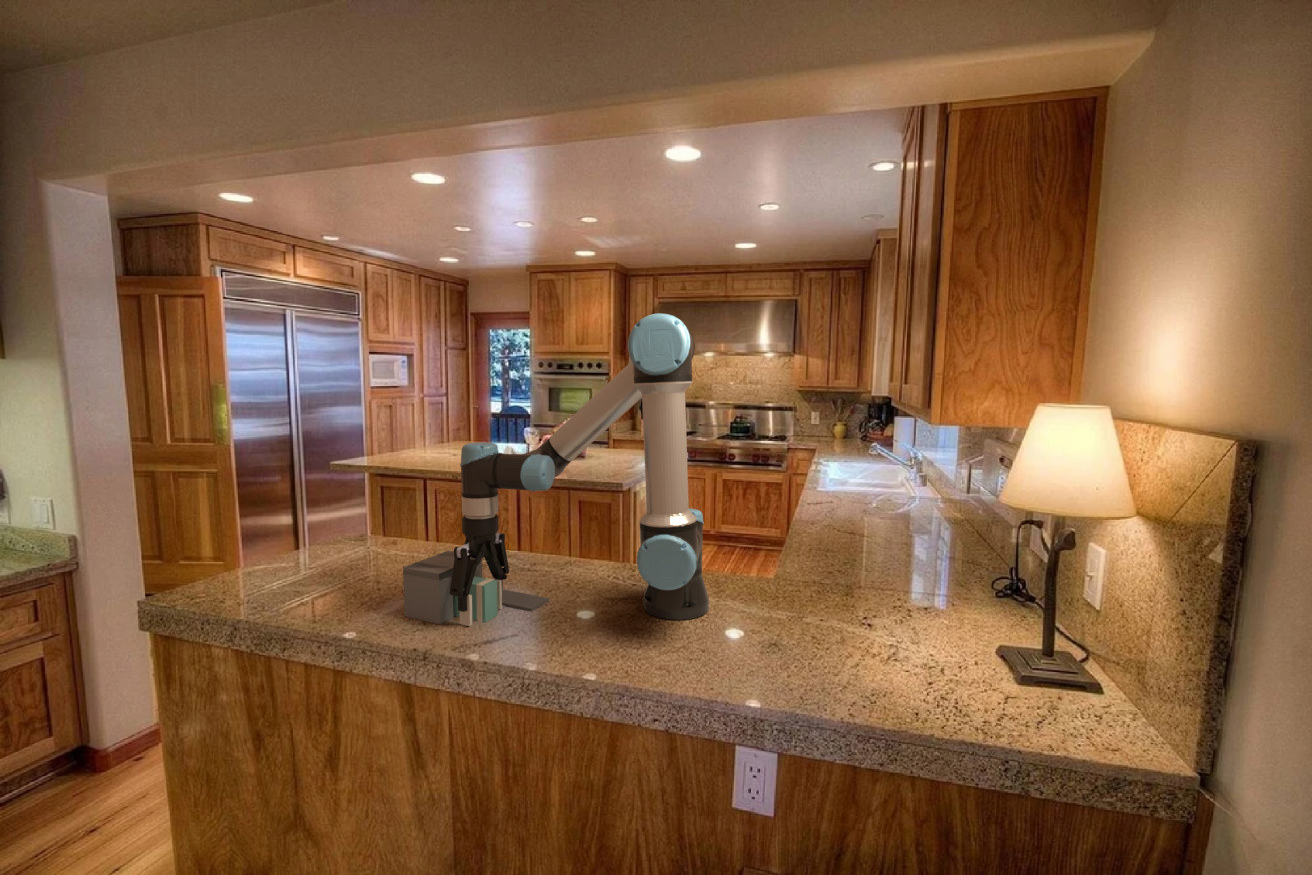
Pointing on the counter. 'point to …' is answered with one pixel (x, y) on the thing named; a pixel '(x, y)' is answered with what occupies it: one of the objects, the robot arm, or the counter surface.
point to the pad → (522, 600)
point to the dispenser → (431, 588)
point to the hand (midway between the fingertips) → (481, 615)
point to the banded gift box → (481, 599)
